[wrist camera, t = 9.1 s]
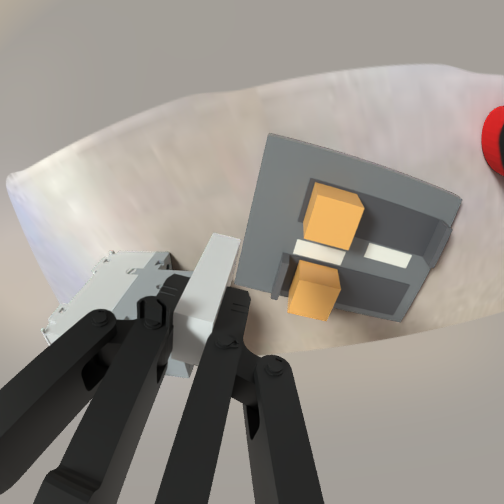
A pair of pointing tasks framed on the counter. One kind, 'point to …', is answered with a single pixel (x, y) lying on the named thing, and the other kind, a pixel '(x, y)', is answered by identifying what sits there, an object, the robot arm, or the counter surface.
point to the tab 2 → (313, 290)
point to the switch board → (366, 236)
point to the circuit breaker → (119, 294)
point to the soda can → (494, 139)
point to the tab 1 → (332, 216)
